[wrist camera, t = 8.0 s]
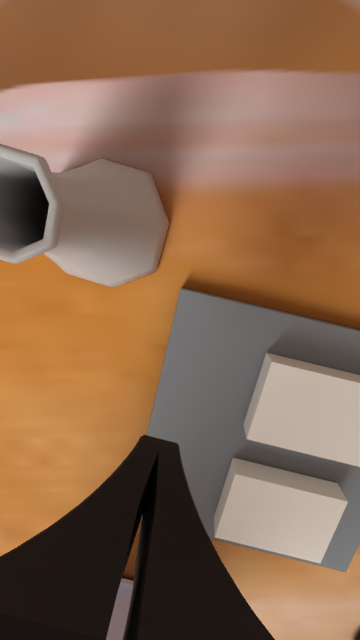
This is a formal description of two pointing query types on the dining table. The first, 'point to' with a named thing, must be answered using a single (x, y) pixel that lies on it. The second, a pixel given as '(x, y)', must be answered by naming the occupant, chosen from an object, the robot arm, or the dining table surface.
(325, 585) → the dining table surface
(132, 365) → the dining table surface
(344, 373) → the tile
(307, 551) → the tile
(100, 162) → the flask
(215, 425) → the slate mat
